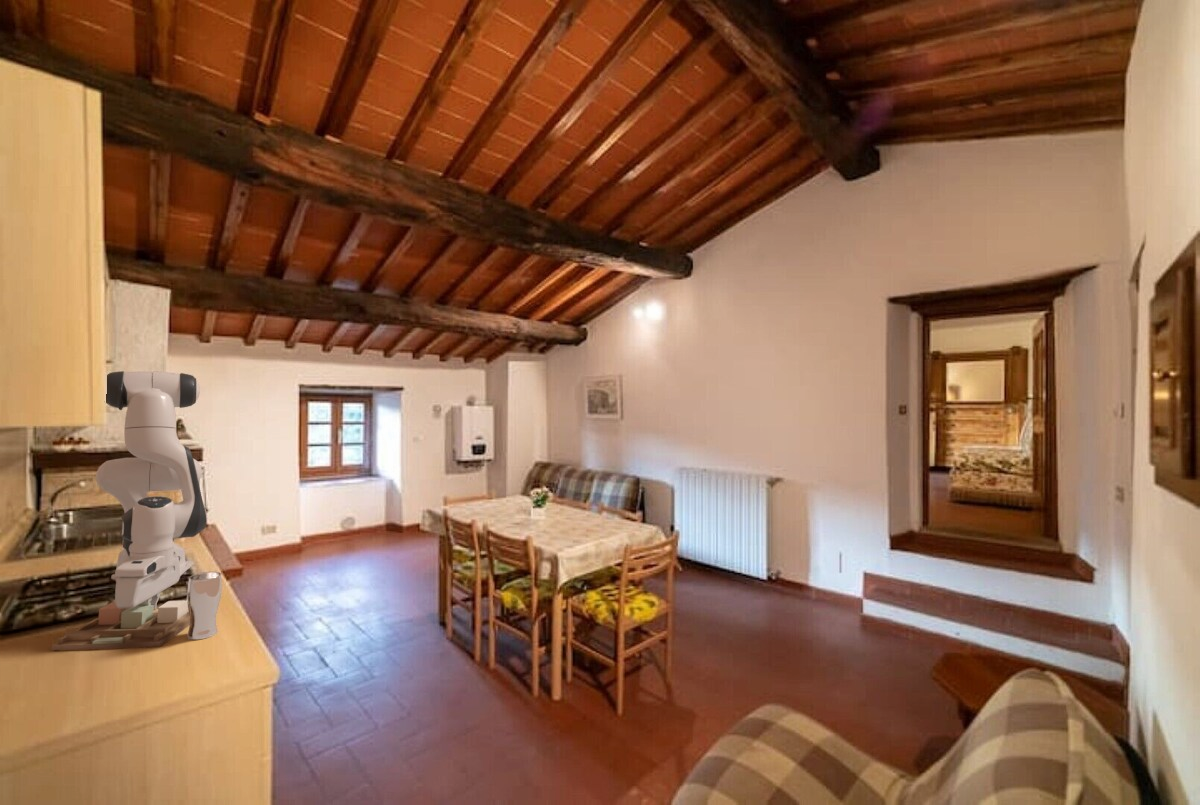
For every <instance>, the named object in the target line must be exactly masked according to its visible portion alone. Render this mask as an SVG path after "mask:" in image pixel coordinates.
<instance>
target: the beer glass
mask: <svg viewBox="0 0 1200 805" xmlns="http://www.w3.org/2000/svg"><path fill="white" fill-rule="evenodd" d="M222 585H223V584H222V572H220V571H204V572H198V573H195V574H192V575H190V576H189V577H188V584H187V593H186V601H187V605H188V610H187V612H189V617H190V625H189V626H188V627H189V628H188V632H187V635H186V638H187V640H190V641H191V640H192V641H196V640H197V641H198V640H205V639H209V638H212V637H213V636H215V635H216V634H217V633H218V628H217V626H218V625H217V614H218V610H219V606H220V603H221V602H220V601H221V598H222V587H223V586H222Z"/></svg>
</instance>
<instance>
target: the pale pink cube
mask: <svg viewBox="0 0 1200 805" xmlns="http://www.w3.org/2000/svg"><path fill="white" fill-rule="evenodd" d="M187 612H188V605H187V600H168V601H166V602H164V604H161V605H160V606H159V607H157V613H158V617H157V623H174V622H175V621H177V620H178V619H180V618H181V617H182V616H184V615H185V614H187Z"/></svg>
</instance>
